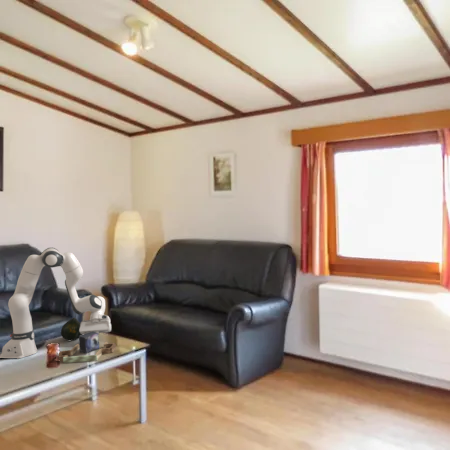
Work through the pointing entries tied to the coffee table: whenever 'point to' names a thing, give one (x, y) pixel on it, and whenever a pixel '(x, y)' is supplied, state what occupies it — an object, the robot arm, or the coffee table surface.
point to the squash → (71, 329)
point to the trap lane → (107, 349)
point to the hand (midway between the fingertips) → (93, 338)
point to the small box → (89, 342)
